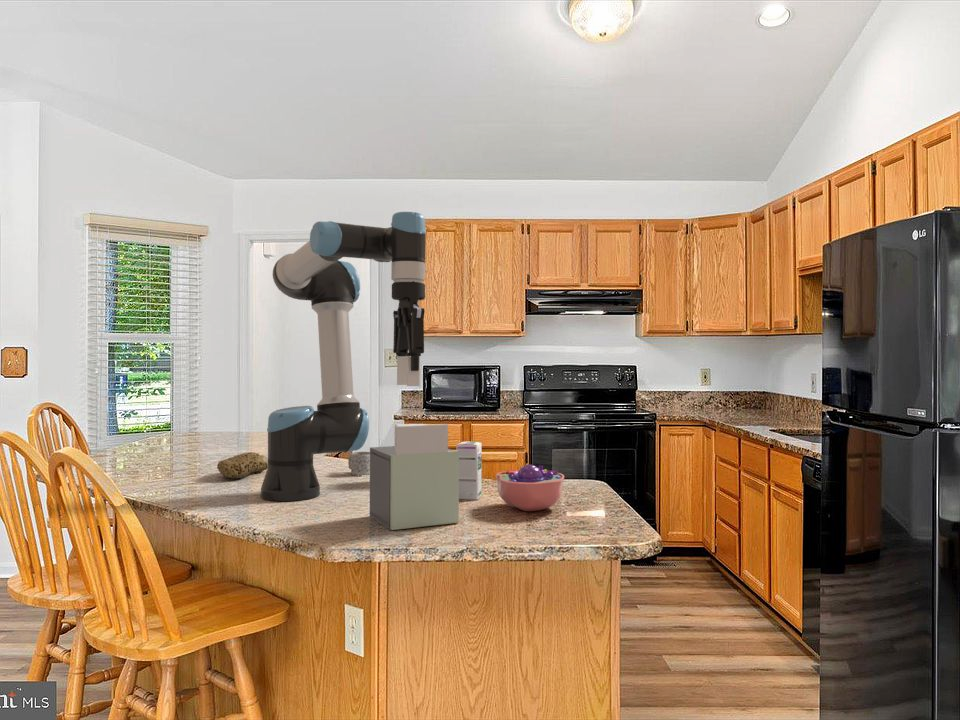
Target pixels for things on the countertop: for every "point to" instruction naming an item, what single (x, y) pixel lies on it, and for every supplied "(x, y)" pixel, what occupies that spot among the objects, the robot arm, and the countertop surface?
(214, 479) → the countertop surface
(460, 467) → the syrup box
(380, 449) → the box
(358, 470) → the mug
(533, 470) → the cell model
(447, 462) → the side door
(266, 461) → the sponge
